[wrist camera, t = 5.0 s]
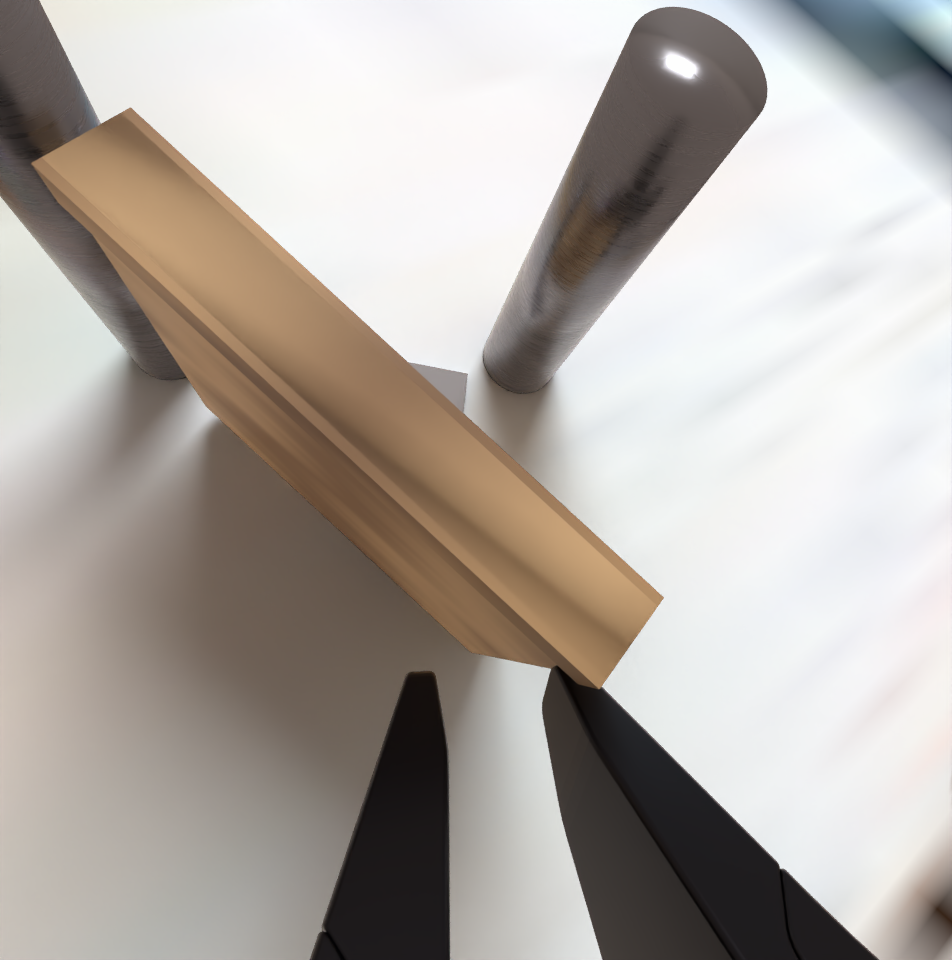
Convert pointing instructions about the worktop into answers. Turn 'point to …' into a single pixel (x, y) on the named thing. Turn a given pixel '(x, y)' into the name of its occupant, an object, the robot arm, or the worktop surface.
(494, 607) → the light wooden flat block
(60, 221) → the hinge post
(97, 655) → the worktop surface
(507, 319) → the post
